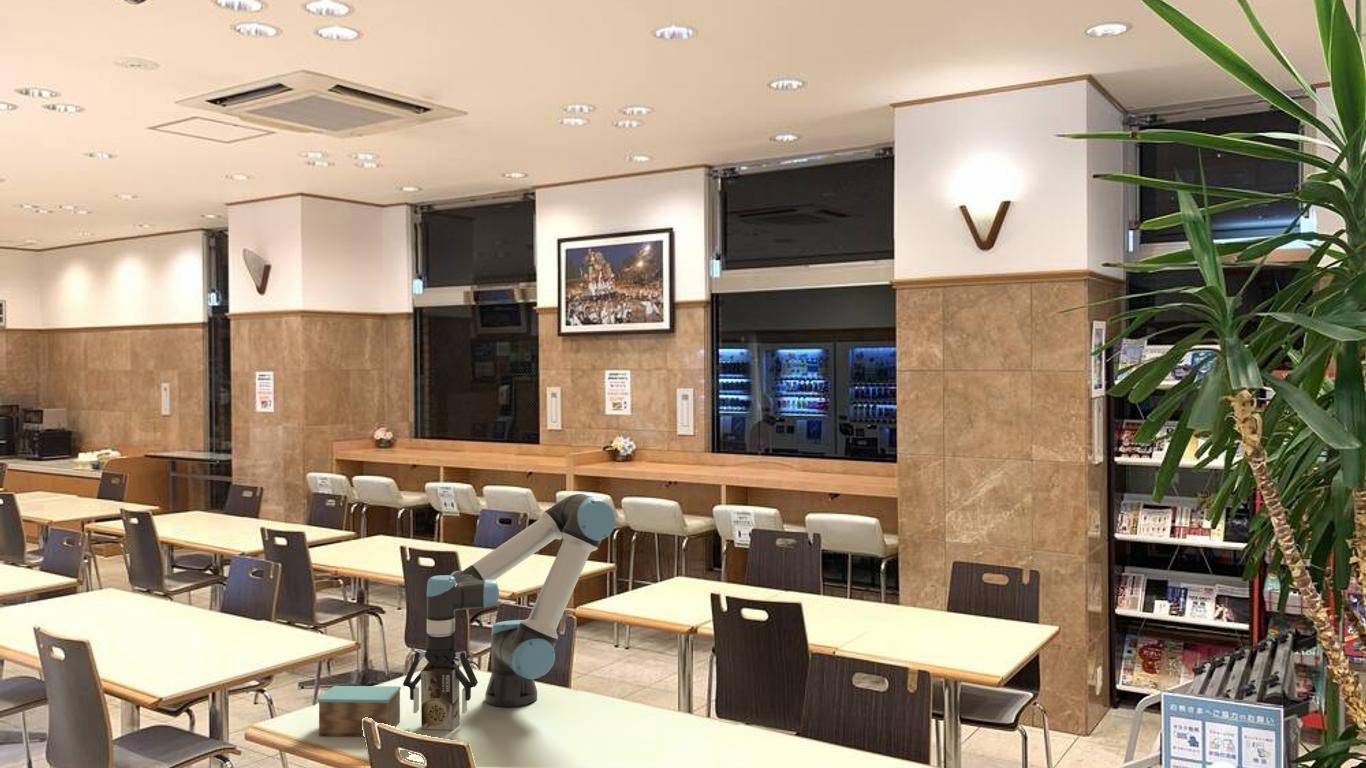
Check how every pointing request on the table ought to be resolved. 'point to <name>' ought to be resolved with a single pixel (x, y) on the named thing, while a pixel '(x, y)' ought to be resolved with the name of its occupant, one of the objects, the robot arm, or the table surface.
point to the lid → (360, 694)
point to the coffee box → (439, 699)
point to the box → (355, 716)
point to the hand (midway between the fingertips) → (440, 712)
